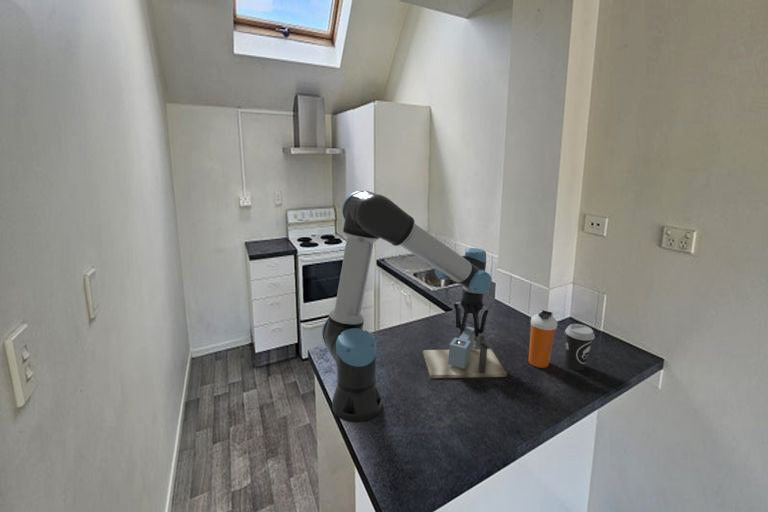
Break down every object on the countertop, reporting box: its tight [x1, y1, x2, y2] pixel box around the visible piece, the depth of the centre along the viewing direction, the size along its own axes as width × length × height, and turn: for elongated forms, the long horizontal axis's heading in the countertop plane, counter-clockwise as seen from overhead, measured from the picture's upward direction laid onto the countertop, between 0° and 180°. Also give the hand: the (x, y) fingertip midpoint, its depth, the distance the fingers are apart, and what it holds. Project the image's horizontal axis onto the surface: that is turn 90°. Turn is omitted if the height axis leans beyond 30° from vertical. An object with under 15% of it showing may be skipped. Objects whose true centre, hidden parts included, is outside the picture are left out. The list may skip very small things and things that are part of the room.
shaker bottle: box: [528, 309, 558, 369], centre depth 137 cm, size 9×9×20 cm
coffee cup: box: [564, 323, 596, 371], centre depth 136 cm, size 10×10×15 cm
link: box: [448, 326, 474, 369], centre depth 138 cm, size 17×6×8 cm, turn 151°
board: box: [422, 348, 508, 379], centre depth 138 cm, size 27×17×1 cm, turn 93°
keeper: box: [475, 335, 490, 373], centre depth 132 cm, size 3×7×12 cm, turn 3°
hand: (468, 346), depth 145 cm, fingers closed on link, 3 cm apart
